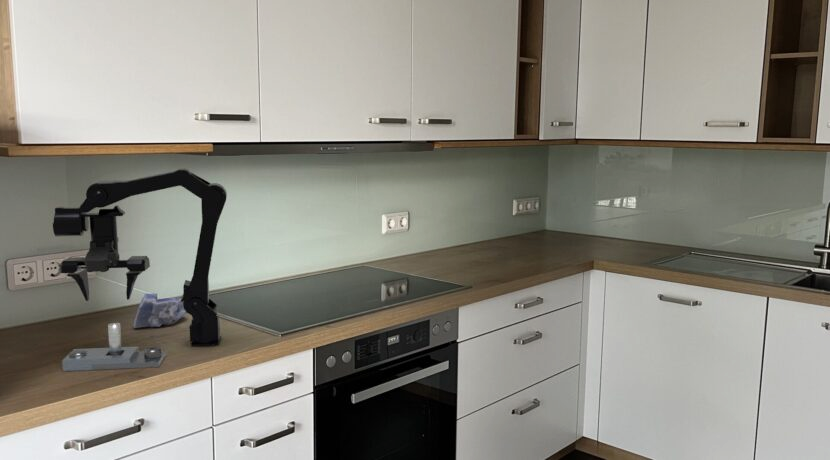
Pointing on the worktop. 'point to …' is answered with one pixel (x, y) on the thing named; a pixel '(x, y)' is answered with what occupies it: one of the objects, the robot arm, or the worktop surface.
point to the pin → (114, 339)
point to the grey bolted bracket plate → (112, 359)
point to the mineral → (158, 311)
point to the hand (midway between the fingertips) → (108, 299)
